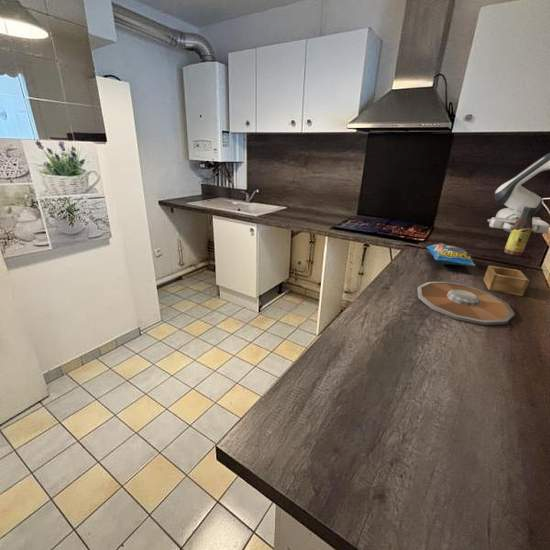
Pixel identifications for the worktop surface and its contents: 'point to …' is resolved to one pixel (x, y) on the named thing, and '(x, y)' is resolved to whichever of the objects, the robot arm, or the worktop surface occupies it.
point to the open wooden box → (505, 280)
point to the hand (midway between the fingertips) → (523, 229)
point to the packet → (450, 255)
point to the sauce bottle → (520, 232)
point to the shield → (465, 303)
